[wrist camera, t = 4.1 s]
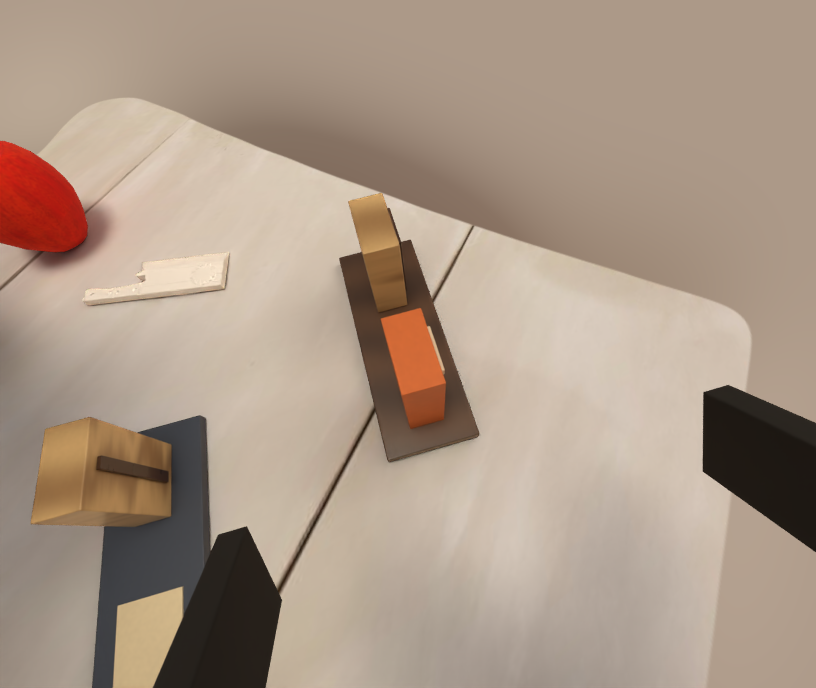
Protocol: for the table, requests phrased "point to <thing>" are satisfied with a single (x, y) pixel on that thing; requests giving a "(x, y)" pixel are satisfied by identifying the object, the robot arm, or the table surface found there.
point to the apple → (37, 204)
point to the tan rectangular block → (380, 250)
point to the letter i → (101, 476)
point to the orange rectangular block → (416, 367)
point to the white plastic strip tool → (168, 279)
